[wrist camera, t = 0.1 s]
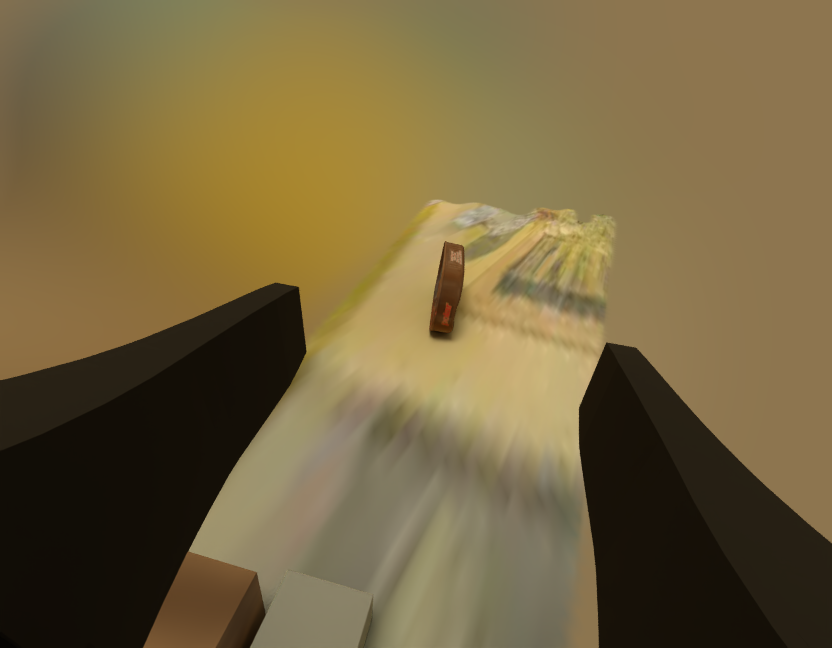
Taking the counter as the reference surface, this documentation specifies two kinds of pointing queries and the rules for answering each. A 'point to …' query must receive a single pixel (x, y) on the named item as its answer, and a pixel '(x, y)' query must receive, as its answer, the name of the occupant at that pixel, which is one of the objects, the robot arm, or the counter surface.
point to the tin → (447, 288)
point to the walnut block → (209, 607)
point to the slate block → (315, 615)
